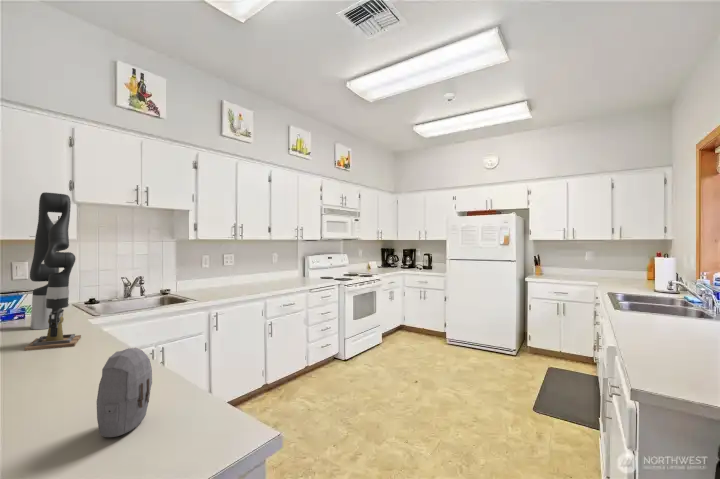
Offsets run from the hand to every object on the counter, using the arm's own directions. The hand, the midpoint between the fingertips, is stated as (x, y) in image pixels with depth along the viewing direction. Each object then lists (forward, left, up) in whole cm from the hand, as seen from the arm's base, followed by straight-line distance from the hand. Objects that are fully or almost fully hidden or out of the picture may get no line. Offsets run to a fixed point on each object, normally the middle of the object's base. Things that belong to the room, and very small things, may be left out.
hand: (55, 334), depth 154 cm
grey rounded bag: (+97, +32, -4) cm, 102 cm away
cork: (0, 0, -3) cm, 3 cm away
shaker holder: (0, 0, -4) cm, 4 cm away
